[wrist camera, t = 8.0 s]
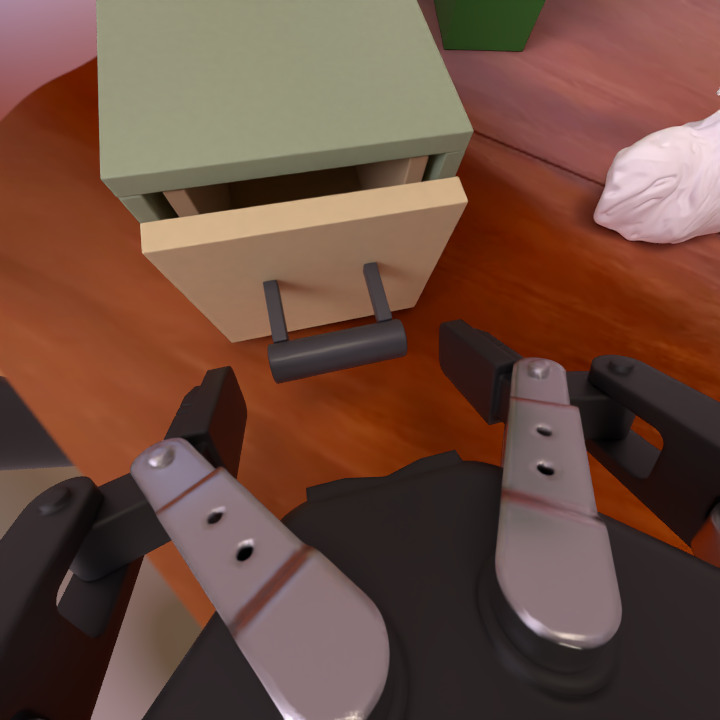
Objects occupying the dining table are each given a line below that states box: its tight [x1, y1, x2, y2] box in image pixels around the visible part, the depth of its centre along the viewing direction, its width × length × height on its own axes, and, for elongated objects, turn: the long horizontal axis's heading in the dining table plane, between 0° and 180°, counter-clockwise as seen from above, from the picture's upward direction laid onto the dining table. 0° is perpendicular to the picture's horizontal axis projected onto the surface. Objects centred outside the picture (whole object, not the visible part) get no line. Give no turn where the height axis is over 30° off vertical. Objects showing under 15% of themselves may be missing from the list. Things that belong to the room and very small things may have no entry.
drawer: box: [140, 155, 468, 384], centre depth 16 cm, size 18×11×9 cm, turn 14°
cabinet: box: [96, 0, 473, 224], centre depth 17 cm, size 15×13×11 cm
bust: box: [593, 88, 720, 244], centre depth 20 cm, size 12×8×11 cm
